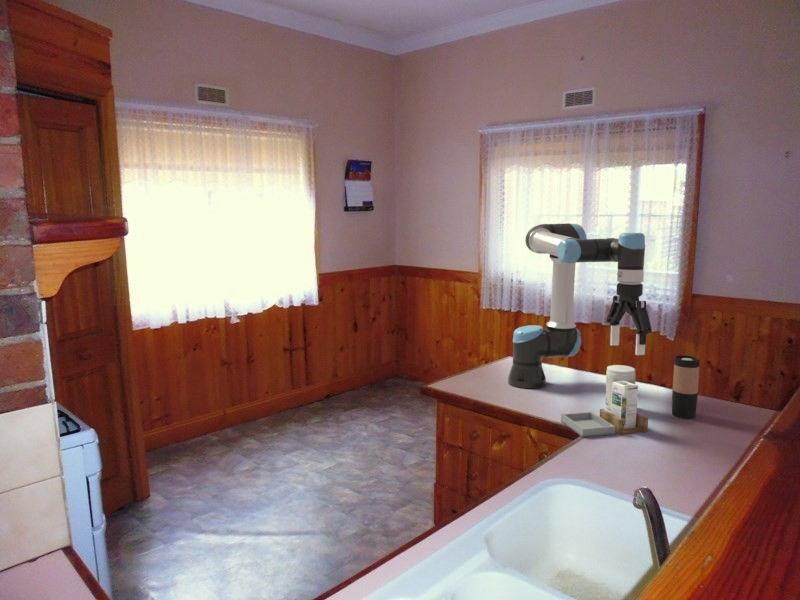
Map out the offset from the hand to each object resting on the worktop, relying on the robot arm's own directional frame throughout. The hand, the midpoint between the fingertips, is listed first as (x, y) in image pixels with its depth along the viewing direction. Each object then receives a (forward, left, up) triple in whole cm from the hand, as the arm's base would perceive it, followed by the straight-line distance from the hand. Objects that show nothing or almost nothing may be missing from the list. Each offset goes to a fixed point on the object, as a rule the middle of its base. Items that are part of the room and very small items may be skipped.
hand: (626, 349), depth 175 cm
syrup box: (0, 0, -26) cm, 26 cm away
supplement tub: (-16, +9, -26) cm, 32 cm away
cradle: (0, 0, -25) cm, 25 cm away
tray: (-2, -11, -25) cm, 28 cm away
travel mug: (-5, +26, -26) cm, 37 cm away
